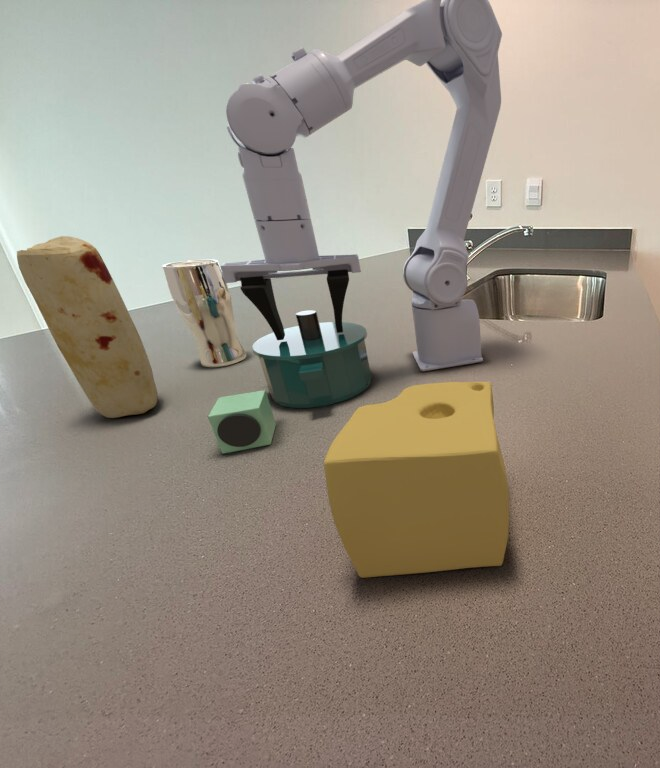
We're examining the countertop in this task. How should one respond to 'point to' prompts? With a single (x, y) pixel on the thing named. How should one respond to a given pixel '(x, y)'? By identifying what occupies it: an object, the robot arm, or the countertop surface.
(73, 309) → the food model
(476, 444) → the cheese
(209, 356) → the beer glass
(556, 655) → the countertop surface
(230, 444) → the green speaker box
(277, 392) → the pot
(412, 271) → the robot arm
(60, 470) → the countertop surface
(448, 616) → the countertop surface
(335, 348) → the lid
